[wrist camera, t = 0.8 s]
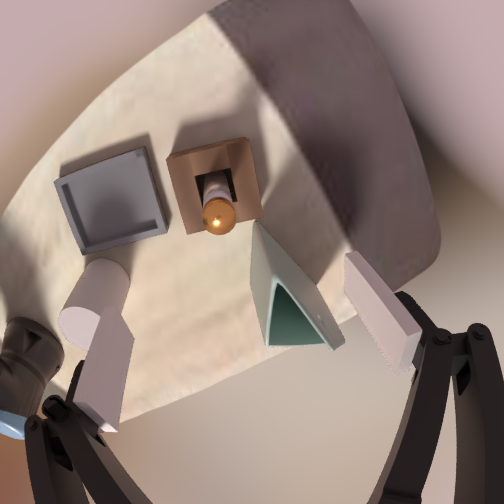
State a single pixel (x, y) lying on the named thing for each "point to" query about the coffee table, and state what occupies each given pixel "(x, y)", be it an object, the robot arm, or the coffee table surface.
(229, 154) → the block
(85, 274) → the white cylinder
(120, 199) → the tray
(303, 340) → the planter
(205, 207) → the pin
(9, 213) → the coffee table surface
